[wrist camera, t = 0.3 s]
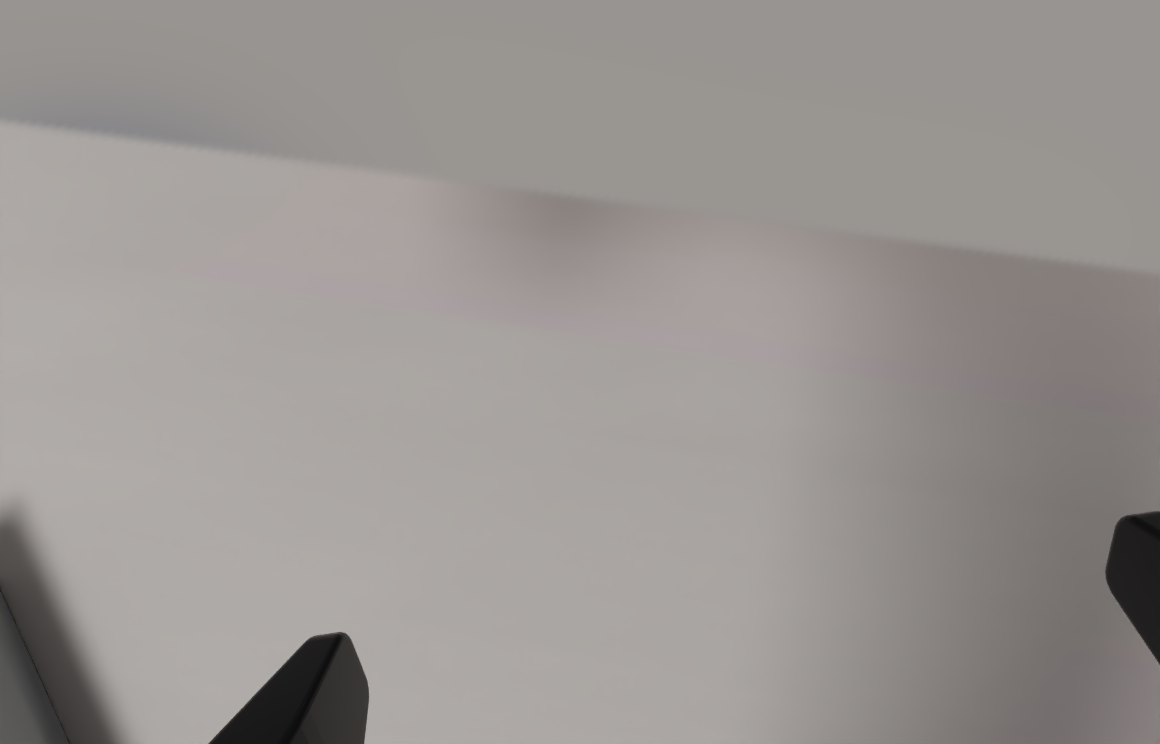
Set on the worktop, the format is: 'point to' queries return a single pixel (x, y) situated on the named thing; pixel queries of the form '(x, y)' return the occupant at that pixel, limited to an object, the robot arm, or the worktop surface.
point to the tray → (23, 692)
